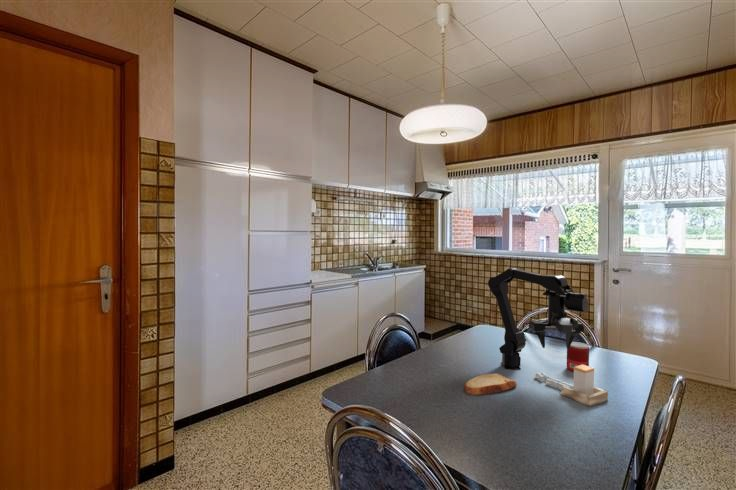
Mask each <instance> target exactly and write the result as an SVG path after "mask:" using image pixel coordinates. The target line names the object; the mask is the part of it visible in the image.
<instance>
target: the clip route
mask: <svg viewBox="0 0 736 490" xmlns="http://www.w3.org/2000/svg"><path fill="white" fill-rule="evenodd" d="M534 379H536V380H538V382H541V383H542V382H543V383H545V385H547V386H550V387H551V388H554V389H557V390H560V391H561V389H562V386H566V387H568V388H571V389H573V386H574V384H571V383H568V382H565V381H562V380H560V379H557V378H554V377H552V376H550V375H548V374H546V373H545V372H543V371H542V372H541V373H539V372H535V375H534Z"/></svg>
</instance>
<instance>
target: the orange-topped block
mask: <svg viewBox="0 0 736 490" xmlns="http://www.w3.org/2000/svg"><path fill="white" fill-rule="evenodd" d="M594 383H595V368H594V367H591V366H590V365H589V366H586V365H583V364H582V365H578V366H575V367H574V372H573V390H576V391H578V392H581V393H583V394H585V395H588V396H589V395H592V394H594V387H595V384H594Z"/></svg>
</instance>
